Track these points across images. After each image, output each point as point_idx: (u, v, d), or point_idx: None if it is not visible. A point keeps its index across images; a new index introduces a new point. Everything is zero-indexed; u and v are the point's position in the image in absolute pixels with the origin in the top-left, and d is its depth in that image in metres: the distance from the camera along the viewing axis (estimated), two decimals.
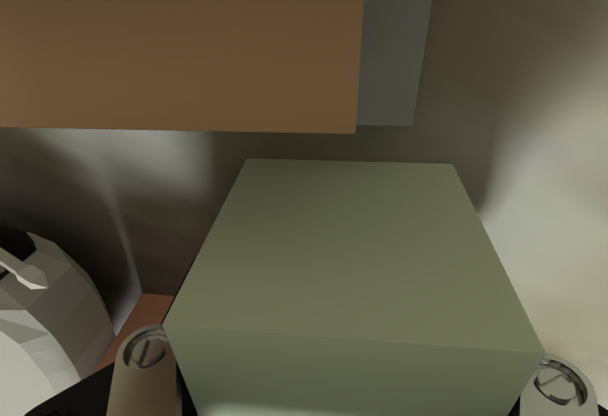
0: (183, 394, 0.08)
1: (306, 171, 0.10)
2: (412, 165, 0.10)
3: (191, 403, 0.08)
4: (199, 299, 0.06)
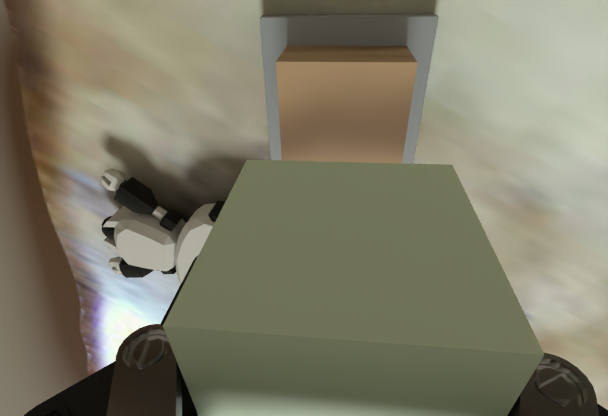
0: (183, 394, 0.08)
1: (306, 172, 0.10)
2: (412, 166, 0.10)
3: (191, 403, 0.08)
4: (199, 300, 0.06)
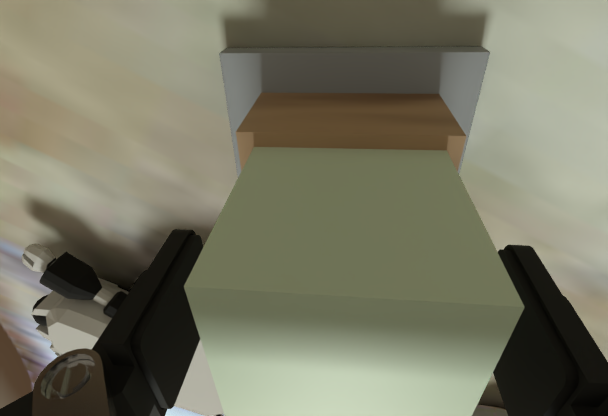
0: None
1: (309, 157, 0.11)
2: (409, 152, 0.11)
3: None
4: (215, 265, 0.07)
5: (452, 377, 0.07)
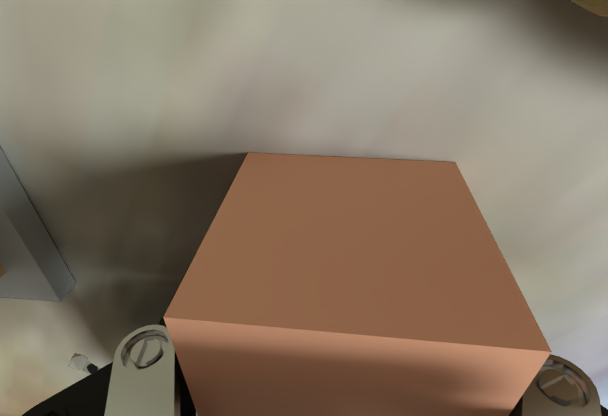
0: (181, 394, 0.08)
1: None
2: None
3: (189, 404, 0.08)
4: None
5: None
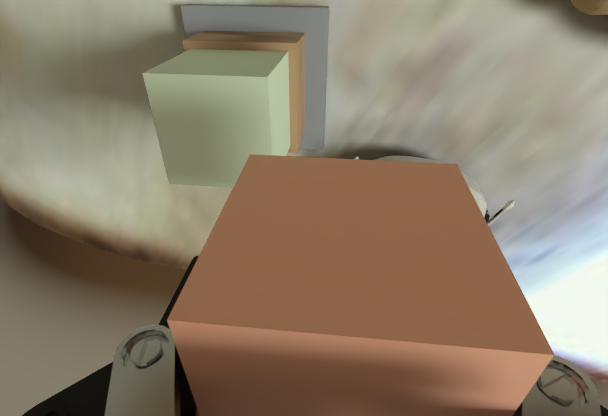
0: (181, 394, 0.08)
1: None
2: None
3: (189, 403, 0.08)
4: None
5: (191, 90, 0.17)
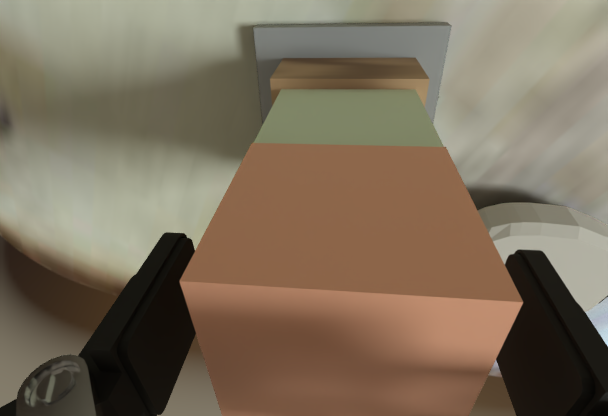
0: None
1: None
2: None
3: None
4: None
5: None
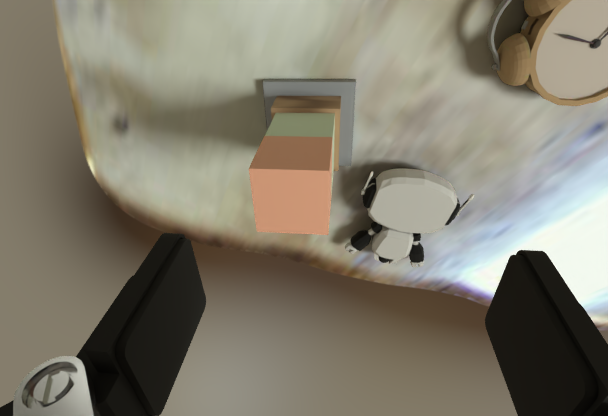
0: None
1: None
2: None
3: None
4: None
5: None
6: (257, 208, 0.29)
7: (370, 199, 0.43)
